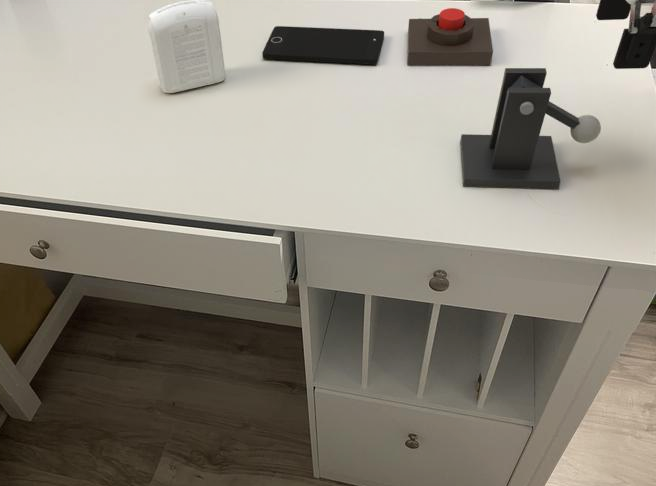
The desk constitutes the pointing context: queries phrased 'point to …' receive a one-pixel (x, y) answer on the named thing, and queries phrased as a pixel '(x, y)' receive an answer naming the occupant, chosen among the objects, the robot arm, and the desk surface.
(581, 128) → the lever switch
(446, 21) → the power button
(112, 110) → the desk surface
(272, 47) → the cell phone
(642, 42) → the robot arm
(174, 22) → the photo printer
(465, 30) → the brown button base
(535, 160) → the pivot bracket stand
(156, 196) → the desk surface
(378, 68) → the desk surface
